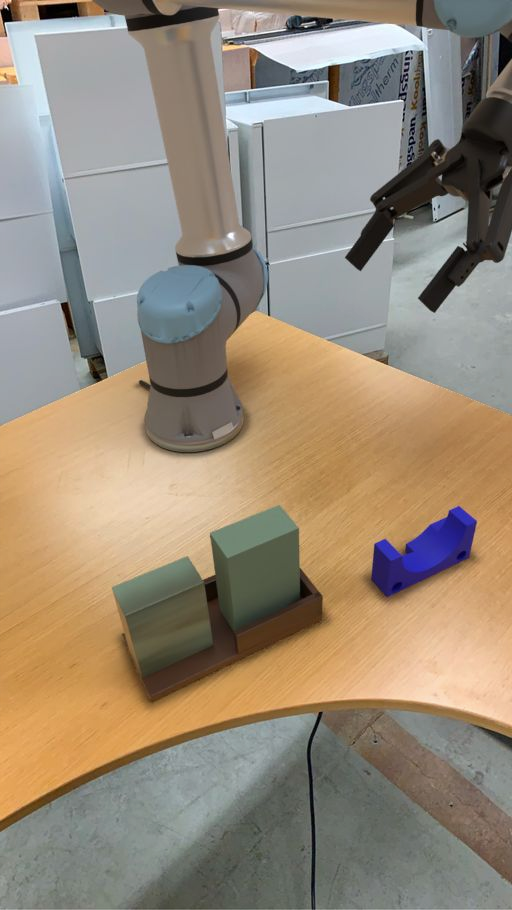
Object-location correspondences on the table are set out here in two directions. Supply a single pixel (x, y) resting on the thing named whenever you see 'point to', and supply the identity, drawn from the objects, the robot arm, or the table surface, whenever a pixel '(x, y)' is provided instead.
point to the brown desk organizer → (195, 625)
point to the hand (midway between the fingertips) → (386, 284)
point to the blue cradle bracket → (424, 553)
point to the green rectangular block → (256, 566)
